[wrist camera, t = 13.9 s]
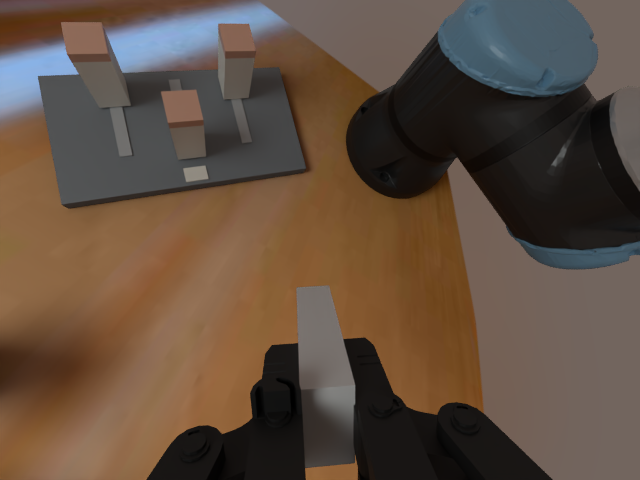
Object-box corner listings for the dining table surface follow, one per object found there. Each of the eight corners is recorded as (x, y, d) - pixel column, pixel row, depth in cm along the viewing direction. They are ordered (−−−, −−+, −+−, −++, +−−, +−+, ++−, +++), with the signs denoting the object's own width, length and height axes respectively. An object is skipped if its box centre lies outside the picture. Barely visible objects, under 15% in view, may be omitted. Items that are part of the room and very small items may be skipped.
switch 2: (242, 75, 40) (248, 23, 33) (248, 97, 40) (255, 50, 32) (218, 76, 39) (218, 23, 32) (223, 99, 39) (225, 51, 31)
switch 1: (200, 132, 37) (196, 89, 30) (206, 156, 37) (203, 119, 30) (172, 134, 36) (160, 91, 29) (178, 159, 36) (167, 122, 29)
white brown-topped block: (125, 80, 36) (101, 22, 28) (130, 105, 36) (107, 53, 28) (94, 82, 35) (60, 22, 27) (99, 107, 35) (67, 54, 27)
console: (277, 74, 44) (279, 66, 42) (303, 172, 42) (306, 167, 41) (44, 85, 35) (36, 74, 33) (68, 208, 34) (60, 203, 32)
